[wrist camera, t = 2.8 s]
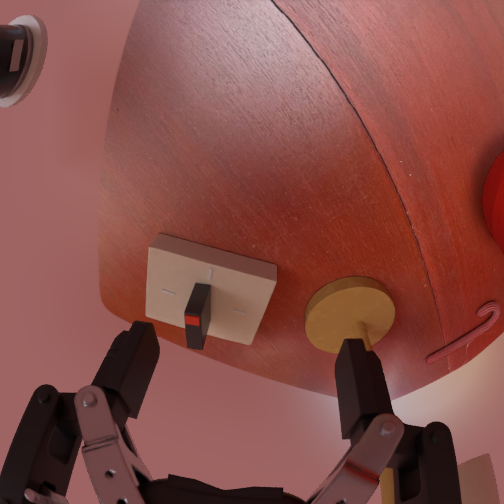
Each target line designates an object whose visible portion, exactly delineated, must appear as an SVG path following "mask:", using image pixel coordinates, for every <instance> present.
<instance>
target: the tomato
mask: <svg viewBox="0 0 504 504" xmlns="http://www.w3.org/2000/svg"><path fill="white" fill-rule="evenodd" d="M482 206H483V215H484V218H485V221H486V223H487V226H488V229H489V232H490V234H491V236H492V237H493V239H494V240H495V242H496V243H497V244H498V245H499V247H500V249H501V251H502V252H503V254H504V151H503V152H502V153H501V154H500V155H499V156H498V157H497V158H496V159H495V161H494V163H493V165H492V166H491V168H490V170H489V172H488V175H487V177H486V180H485V182H484V187H483V195H482Z"/></svg>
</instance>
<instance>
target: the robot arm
mask: <svg viewBox="0 0 504 504" xmlns="http://www.w3.org/2000/svg"><path fill="white" fill-rule="evenodd" d="M33 46H34V42H33V35H32V32H31V30H30V28H29V27H28V26H26V25H21V24H15V25H0V99H1V98H6V97H9V96H11V95H12V94H13V93H15V92H16V91H17V89H18V88H19V87H20V85H21V84H22V82H23V81H24V79H25V77H26V74H27V72H28V70H29V67H30V64H31V60H32V55H33ZM159 354H160V347H159V343H158V339H157V336H156V332H155V329H154V326H153V324H152V323H149V322H143V321H134V322H133V324H132V326H131V328H130V330H129V331H125V330H124V331H123V332H121V333H120V334H119V335H118V336H117V337H116V338H115V339H114V341H113V343H112V345H111V347H110V349H109V351H108V353H107V356H106V357H105V358H104V360H103V362H102V364H101V366H100V368H99V370H98V372H97V374H96V376H95V378H94V380H93V382H92V384H91V385H89V386H85V387H83V388H81V389H80V390H79V391H78V392H77V393H59V392H58V391H57V390H56V388H55V387H53V386H52V385H47V384H45V385H41V386H40V387H38V388H37V389H36V390H35V391H34V393H33V395H32V397H31V399H30V401H29V404H28V406H27V408H26V410H25V412H24V415H23V417H22V419H21V422H20V424H19V426H18V428H17V431H16V433H15V436H14V438H13V441H12V443H11V446H10V449H9V451H8V454H7V457H6V460H5V463H4V465H3V468H2V471H1V475H0V504H69V503H68V501H67V499H66V498H65V496H66V492H67V489H68V485H69V481H70V478H71V474H72V470H73V467H74V464H75V461H76V457H77V454H78V450H79V448H80V445H81V442H82V439H83V440H84V444H85V445H84V446H83V447H82V455H83V458H84V461H85V464H86V468H87V471H88V473H89V476H90V479H91V482H92V485H93V487H94V490H95V492H96V495H97V498H98V500H99V502H100V504H366V503H367V502H368V500H369V499H370V497H371V496H372V494H373V493H374V491H375V490H376V488H377V487H378V485H379V482H380V480H379V477H380V475H381V474H382V472H383V470H384V469H385V467H386V468H392V469H393V479H394V502H395V504H462V500H461V490H460V482H459V474H458V468H457V462H456V456H455V450H454V445H453V441H452V435H451V432H450V429H449V428H448V427H447V426H446V425H445V424H444V423H441V422H432V423H429V424H428V425H427V426H426V427H419V426H412V425H407V424H405V423H403V422H402V421H401V420H400V419H399V418H398V417H397V416H395V414H394V412H393V409H392V405H391V401H390V396H389V392H388V388H387V384H386V381H385V376H384V372H383V369H382V365H381V361H380V359H379V358H378V356H377V355H376V354H375V352H374V351H366V348H365V344H364V341H363V339H362V338H345V339H344V340H343V343H342V346H341V349H340V351H339V354H338V357H337V359H336V363H335V379H336V386H337V395H338V403H339V412H340V421H341V432H342V439H350V441H351V446H350V448H349V449H348V450H347V452H346V453H345V455H344V456H343V457H342V459H341V460H340V461H339V463H338V464H337V465H336V467H335V468H334V469H333V470H332V472H331V473H330V474H329V476H328V477H327V478H326V479H325V480H324V481H323V483H322V484H321V485H320V486H319V487H318V488H317V489H316V490H315V491H314V492H313V494H312V495H311V496H310V497H309V498H308V499H307V500H306V501H304V500H302V499H301V498H299V497H296V496H295V495H292V494H289V493H286V492H283V488H277V487H275V488H274V487H248V488H240V489H231V490H222V489H219V488H216V487H214V486H211V485H208V484H206V483H203V482H201V481H198V480H196V479H191V478H185V477H180V476H176V475H171V474H169V475H168V478H165V479H157V480H153V479H152V477H151V475H150V473H149V471H148V469H147V468H146V466H145V465H144V463H143V462H142V460H141V458H140V456H139V454H138V452H137V449H136V447H135V444H134V442H133V440H132V437H131V435H130V432H129V430H128V427H127V425H126V421H127V419H128V417H131V418H135V419H137V416H138V413H139V410H140V408H141V405H142V402H143V399H144V397H145V394H146V391H147V388H148V385H149V383H150V380H151V377H152V375H153V372H154V369H155V367H156V364H157V362H158V359H159Z"/></svg>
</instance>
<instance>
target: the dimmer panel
mask: <svg viewBox="0 0 504 504" xmlns="http://www.w3.org/2000/svg"><path fill="white" fill-rule="evenodd" d="M195 283H201V284H208V285H211V321H210V325H209V328H208V332H207V335H211V336H214V337H218V338H222V339H226V340H230V341H234V342H238V343H242V344H247V345H251V343H252V341H253V339H254V336H255V334H256V332H257V329H258V327H259V324H260V322H261V320H262V317H263V315H264V312H265V310H266V308H267V305H268V303H269V300H270V298H271V295H272V293H273V290H274V288H275V286H276V283H277V265H275V264H271V263H267V262H264V261H260V260H256V259H253V258H249V257H245V256H242V255H238V254H234V253H231V252H227V251H223V250H220V249H216V248H212V247H209V246H205V245H201V244H198V243H194V242H190V241H187V240H183V239H180V238H176V237H172V236H169V235H165V234H161V233H159V234H158V235H157V237H156V238H155V239H154V241H153V242H152V243H151V245H150V246H149V253H148V268H147V287H146V316H147V317H150V318H153V319H156V320H159V321H162V322H165V323H169V324H172V325H175V326H179V327H182V328H185V319H184V311H185V308H186V306H187V303H188V301H189V298H190V295H191V293H192V290H193V288H194V285H195Z"/></svg>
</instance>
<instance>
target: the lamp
mask: <svg viewBox="0 0 504 504" xmlns="http://www.w3.org/2000/svg"><path fill="white" fill-rule="evenodd" d="M394 318H395V307H394V304H393V301H392V299H391V297H390V295H389V292H388V291H387V289H386V288H385V287H384V286H383V285H382V284H381V283H380V282H378V281H376V280H374V279H371V278H367V277H361V276H352V277H346V278H341V279H338V280H335V281H333V282H331V283H329V284H327V285H325V286H324V287H322V288H321V289H320V290H318V291H317V292H316V293H315V294H314V295H313V296H312V298H311V299H310V301H309V302H308V304H307V306H306V309H305V315H304V319H305V330H306V335H307V337H308V339H309V341H310V342H311V343H312V344H313V345H314V346H315V347H317V348H318V349H320V350H323V351H325V352H329V353H335V354H339V351H340V349H341V346H342V343H343V340H344V339H345V338H362V339H363V341H364V344H365V348H366V351H373V350H372V345H373V344H375V343H377V342H378V341H379V340H380V339H382V338H383V337H384V336H385V335H386V333H387V332H388V331H389V329H390V328H391V326H392V324H393V321H394ZM457 468H458V474H459V482H460V490H461V500H462V504H500V501H499V495H498V489H497V484H496V479H495V475H494V470H493V466H492V462H491V458H490V455H489V454H484V455H482V456H478V457H476V458H473V459H471V460H468V461H466V462H464V463H461V464H459V465H457ZM380 486H381V497H382V504H395V502H394V479H393V469H392V468H386V467H385V469H384V470H383V472H382V474H381V475H380Z"/></svg>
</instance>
